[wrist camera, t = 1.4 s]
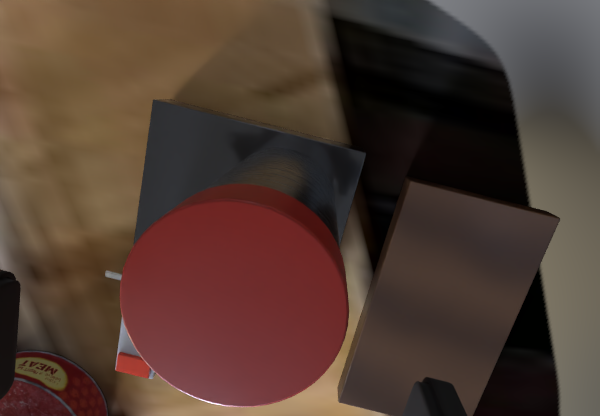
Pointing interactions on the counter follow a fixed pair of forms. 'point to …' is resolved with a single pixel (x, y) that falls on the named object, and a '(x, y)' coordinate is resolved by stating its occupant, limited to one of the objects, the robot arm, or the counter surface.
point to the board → (443, 295)
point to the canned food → (51, 388)
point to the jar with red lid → (242, 284)
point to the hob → (226, 158)
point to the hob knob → (130, 357)
